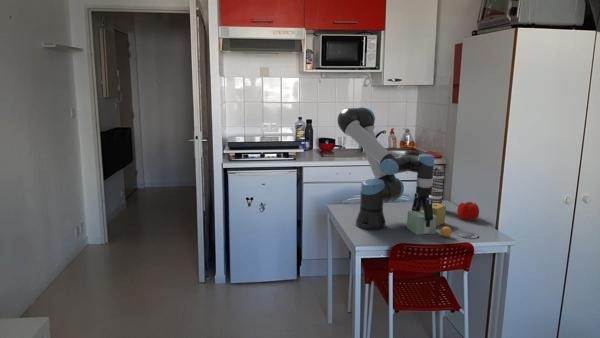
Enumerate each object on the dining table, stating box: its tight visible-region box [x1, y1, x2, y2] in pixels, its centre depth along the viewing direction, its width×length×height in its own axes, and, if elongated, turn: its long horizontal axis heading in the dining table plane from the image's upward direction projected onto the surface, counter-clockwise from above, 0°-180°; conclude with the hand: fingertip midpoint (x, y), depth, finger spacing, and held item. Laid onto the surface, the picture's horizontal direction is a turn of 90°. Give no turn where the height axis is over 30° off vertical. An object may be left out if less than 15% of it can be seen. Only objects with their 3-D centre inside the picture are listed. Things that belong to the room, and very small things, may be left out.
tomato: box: [456, 201, 480, 221], centre depth 246 cm, size 11×12×9 cm
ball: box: [440, 226, 452, 238], centre depth 217 cm, size 5×5×5 cm
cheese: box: [419, 203, 447, 227], centre depth 238 cm, size 10×11×10 cm
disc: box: [456, 231, 476, 240], centre depth 221 cm, size 10×10×1 cm
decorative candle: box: [429, 166, 446, 204], centre depth 262 cm, size 9×9×25 cm
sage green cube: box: [406, 210, 437, 235], centre depth 225 cm, size 10×10×9 cm
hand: (420, 229), depth 226 cm, fingers closed on sage green cube, 10 cm apart
